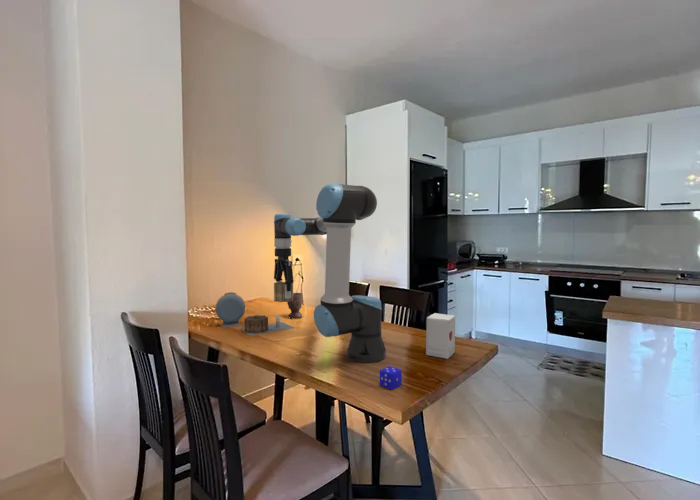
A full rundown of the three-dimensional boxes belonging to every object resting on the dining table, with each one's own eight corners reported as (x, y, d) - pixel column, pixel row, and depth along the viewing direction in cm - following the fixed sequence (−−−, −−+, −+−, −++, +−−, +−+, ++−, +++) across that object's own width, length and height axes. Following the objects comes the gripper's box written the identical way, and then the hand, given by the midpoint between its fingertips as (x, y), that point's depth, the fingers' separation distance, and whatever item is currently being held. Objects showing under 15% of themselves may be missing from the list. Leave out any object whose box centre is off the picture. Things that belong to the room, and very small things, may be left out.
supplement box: (448, 359, 141) (448, 320, 141) (425, 355, 146) (425, 317, 145) (455, 352, 149) (455, 315, 148) (433, 348, 154) (433, 312, 153)
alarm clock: (245, 323, 196) (244, 290, 195) (246, 328, 187) (245, 293, 186) (216, 326, 192) (215, 291, 191) (215, 331, 182) (214, 295, 181)
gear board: (294, 331, 182) (294, 317, 181) (250, 339, 169) (250, 324, 169) (282, 324, 193) (282, 312, 193) (240, 331, 181) (239, 318, 180)
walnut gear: (271, 330, 177) (271, 318, 176) (249, 334, 171) (249, 321, 170) (262, 326, 185) (262, 314, 185) (241, 329, 179) (241, 317, 179)
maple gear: (296, 300, 174) (296, 283, 173) (278, 303, 169) (278, 285, 168) (288, 297, 181) (287, 281, 180) (271, 299, 176) (270, 282, 175)
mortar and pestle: (289, 321, 201) (289, 283, 200) (279, 318, 207) (278, 282, 206) (305, 317, 210) (305, 281, 209) (295, 314, 216) (295, 280, 214)
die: (392, 390, 115) (392, 374, 115) (379, 385, 119) (379, 370, 118) (401, 385, 119) (401, 369, 119) (388, 380, 122) (388, 365, 122)
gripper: (301, 248, 166) (301, 299, 168) (280, 246, 184) (281, 292, 185) (285, 249, 162) (286, 301, 164) (266, 246, 180) (266, 293, 181)
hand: (283, 296), depth 175 cm, fingers closed on maple gear, 9 cm apart
